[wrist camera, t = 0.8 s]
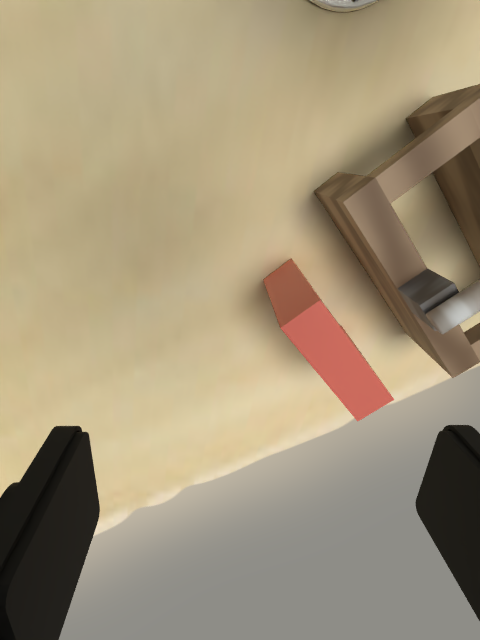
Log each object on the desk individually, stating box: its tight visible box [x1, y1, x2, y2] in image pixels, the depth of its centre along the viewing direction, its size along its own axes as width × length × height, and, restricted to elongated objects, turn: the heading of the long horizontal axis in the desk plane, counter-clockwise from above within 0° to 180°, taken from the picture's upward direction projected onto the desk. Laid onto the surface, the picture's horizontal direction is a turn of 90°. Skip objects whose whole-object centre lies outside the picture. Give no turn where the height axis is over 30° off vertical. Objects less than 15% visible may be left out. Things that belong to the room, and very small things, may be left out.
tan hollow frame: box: [314, 84, 480, 378], centre depth 33 cm, size 14×22×16 cm, turn 38°
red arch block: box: [263, 259, 394, 421], centre depth 38 cm, size 4×13×13 cm, turn 38°
